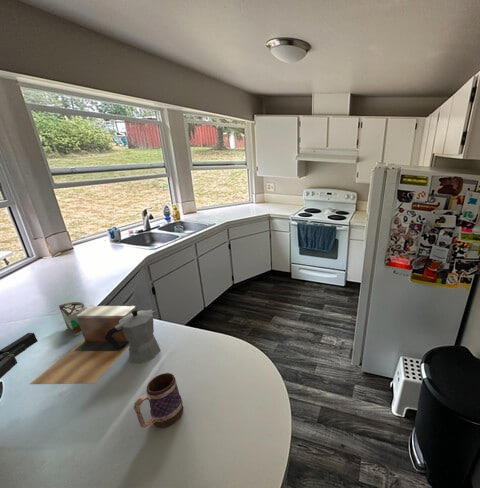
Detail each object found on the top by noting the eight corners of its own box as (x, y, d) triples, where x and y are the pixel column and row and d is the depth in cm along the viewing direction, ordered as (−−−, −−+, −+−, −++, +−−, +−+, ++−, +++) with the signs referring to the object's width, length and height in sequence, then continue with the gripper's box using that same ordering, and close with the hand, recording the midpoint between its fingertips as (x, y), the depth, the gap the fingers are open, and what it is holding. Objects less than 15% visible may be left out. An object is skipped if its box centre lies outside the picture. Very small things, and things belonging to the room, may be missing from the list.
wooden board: (29, 386, 73) (28, 384, 73) (96, 331, 96) (96, 330, 95) (94, 385, 74) (93, 383, 74) (145, 331, 97) (144, 330, 96)
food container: (98, 330, 97) (91, 308, 93) (77, 339, 92) (68, 316, 88) (86, 318, 103) (79, 297, 99) (66, 326, 98) (58, 304, 95)
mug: (171, 399, 71) (164, 366, 67) (189, 409, 68) (183, 375, 64) (133, 433, 62) (122, 397, 58) (152, 446, 59) (142, 410, 55)
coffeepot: (156, 338, 93) (147, 297, 87) (172, 347, 89) (163, 304, 83) (108, 367, 80) (92, 321, 74) (124, 379, 76) (109, 331, 70)
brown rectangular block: (85, 341, 90) (76, 315, 86) (98, 330, 95) (90, 305, 92) (131, 341, 90) (124, 315, 87) (141, 330, 96) (135, 306, 92)
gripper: (-139, 445, 44) (11, 348, 66) (-60, 443, 45) (63, 348, 67) (-165, 415, 42) (0, 325, 64) (-81, 414, 43) (54, 325, 65)
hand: (32, 337), depth 66 cm, fingers closed
